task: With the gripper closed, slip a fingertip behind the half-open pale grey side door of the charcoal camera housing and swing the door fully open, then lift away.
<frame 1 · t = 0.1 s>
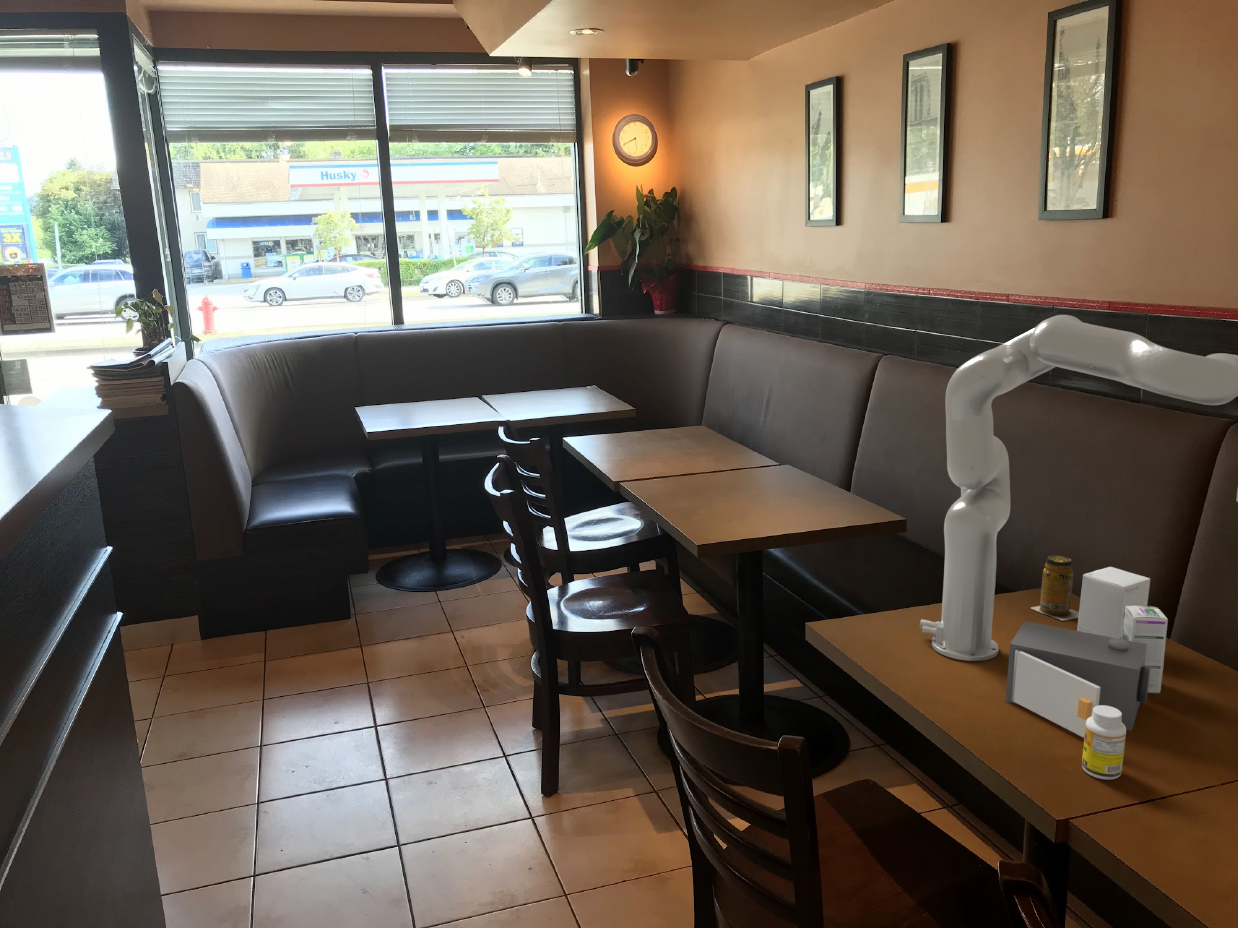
supplement bottle: (1100, 772, 149), on the table
syrup box: (1138, 686, 177), on the table
camera housing: (1072, 701, 171), on the table
condiment: (1057, 613, 212), on the table
side door: (1051, 694, 163), point 6 cm above the table, hinge at 30.0°
supplement box: (1108, 647, 194), on the table
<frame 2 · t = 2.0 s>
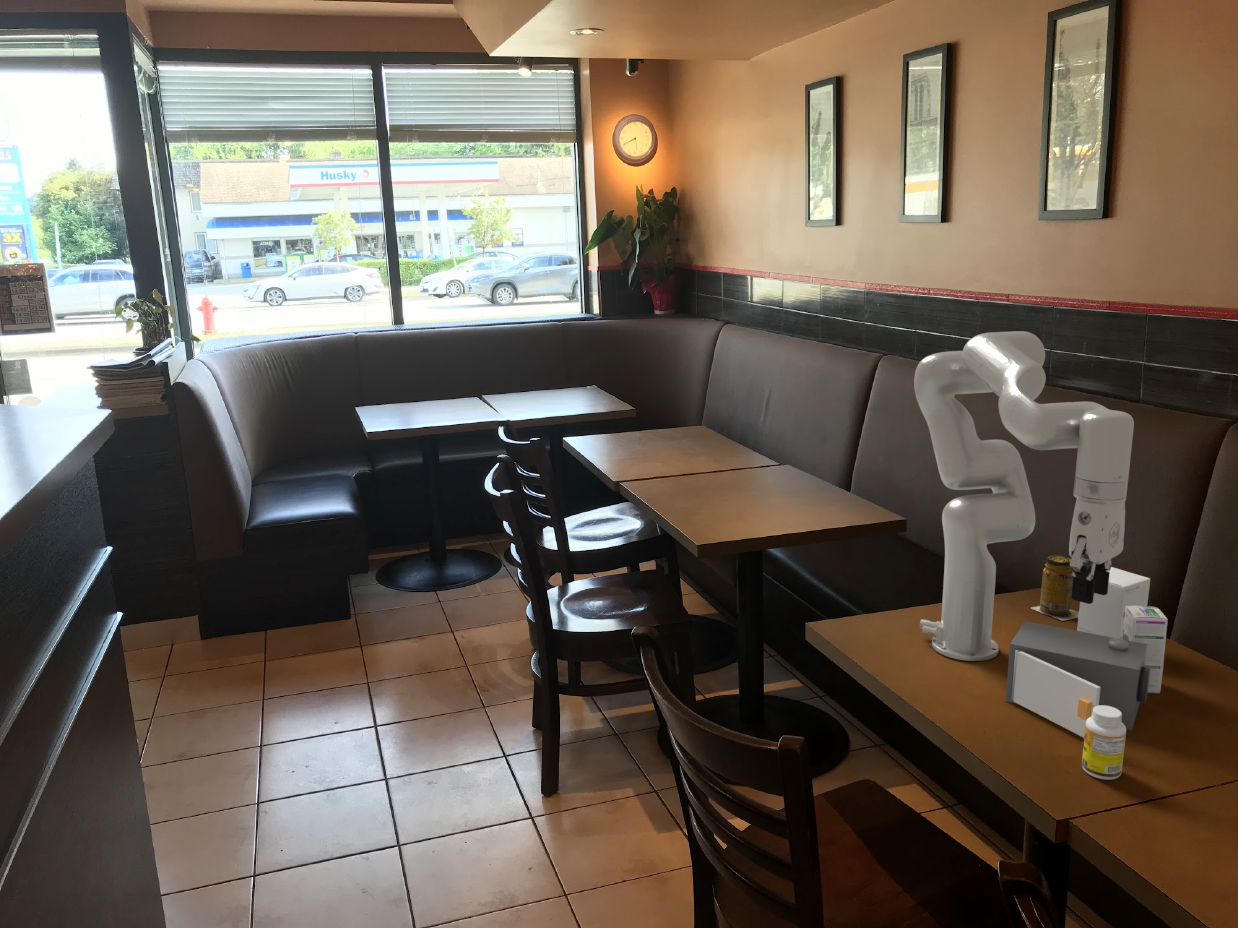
hand: (1089, 596, 157), 23 cm above the table, tool pointing down, fingers open, 4 cm apart
nothing on the table moved.
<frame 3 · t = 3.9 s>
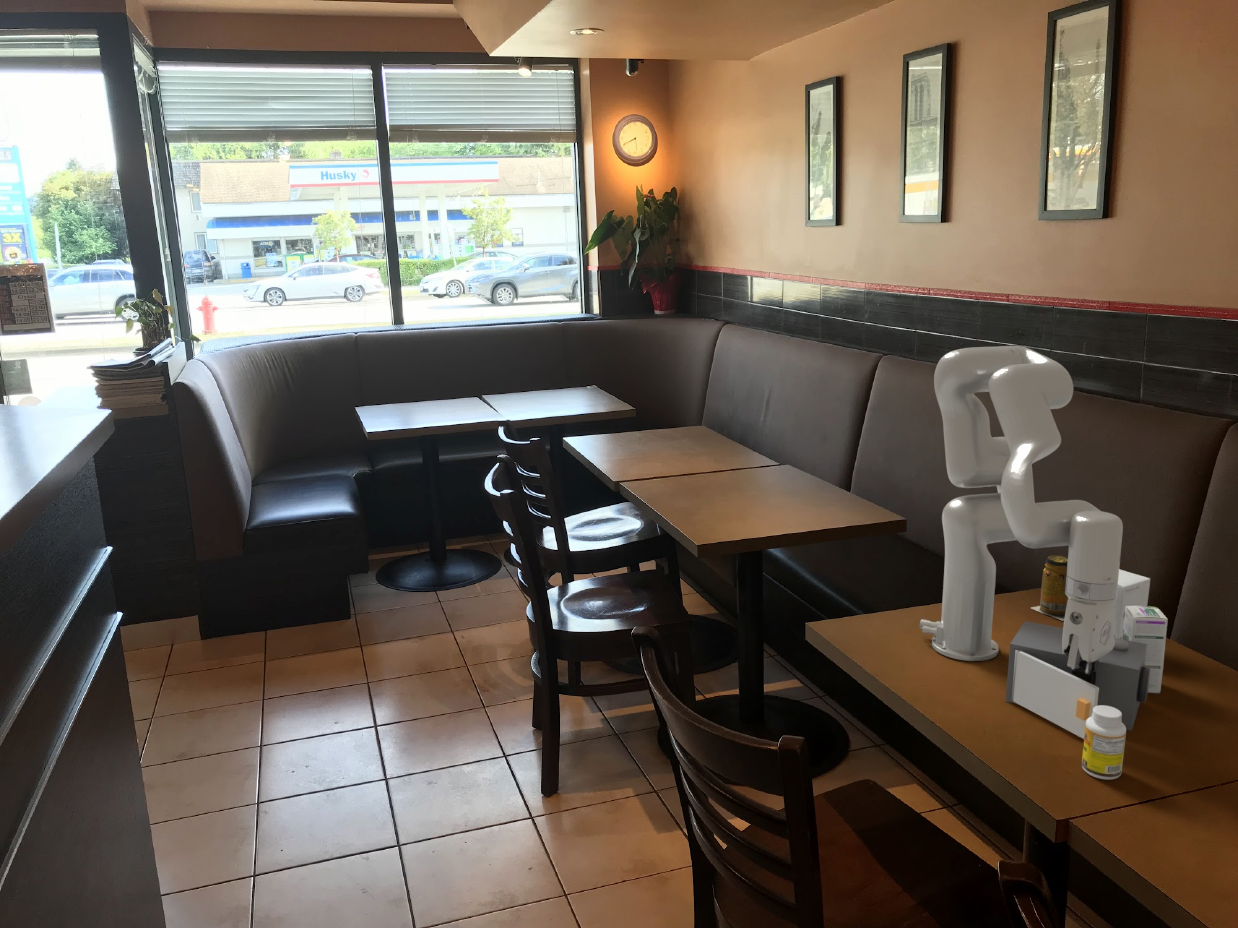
hand: (1082, 692, 161), 7 cm above the table, tool pointing down, fingers closed
side door: (1050, 694, 162), point 6 cm above the table, hinge at 31.3°, touching gripper
everything else where it was.
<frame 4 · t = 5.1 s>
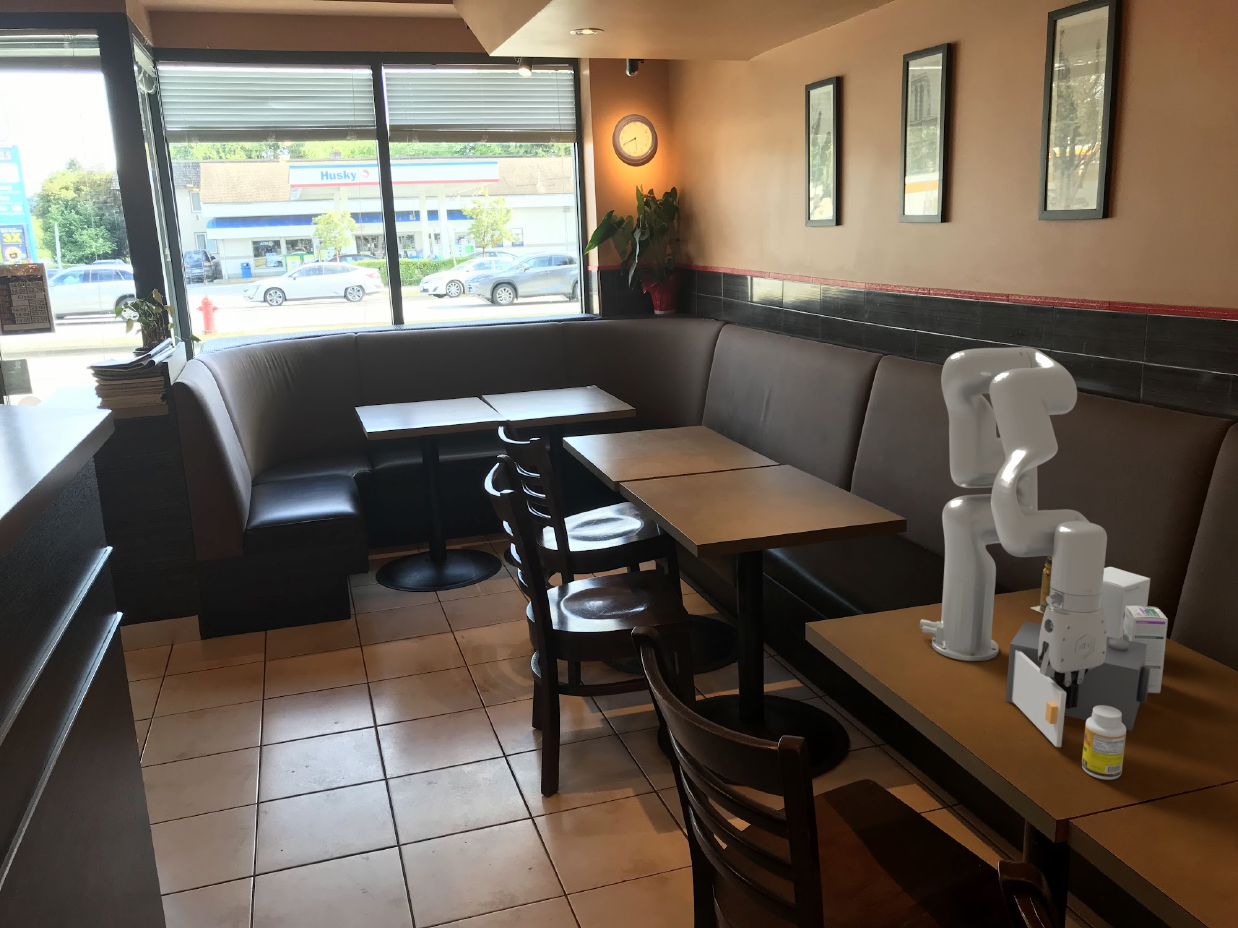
hand: (1065, 704, 159), 5 cm above the table, tool pointing down, fingers closed
side door: (1034, 696, 162), point 6 cm above the table, hinge at 53.5°, touching gripper
everything else where it was.
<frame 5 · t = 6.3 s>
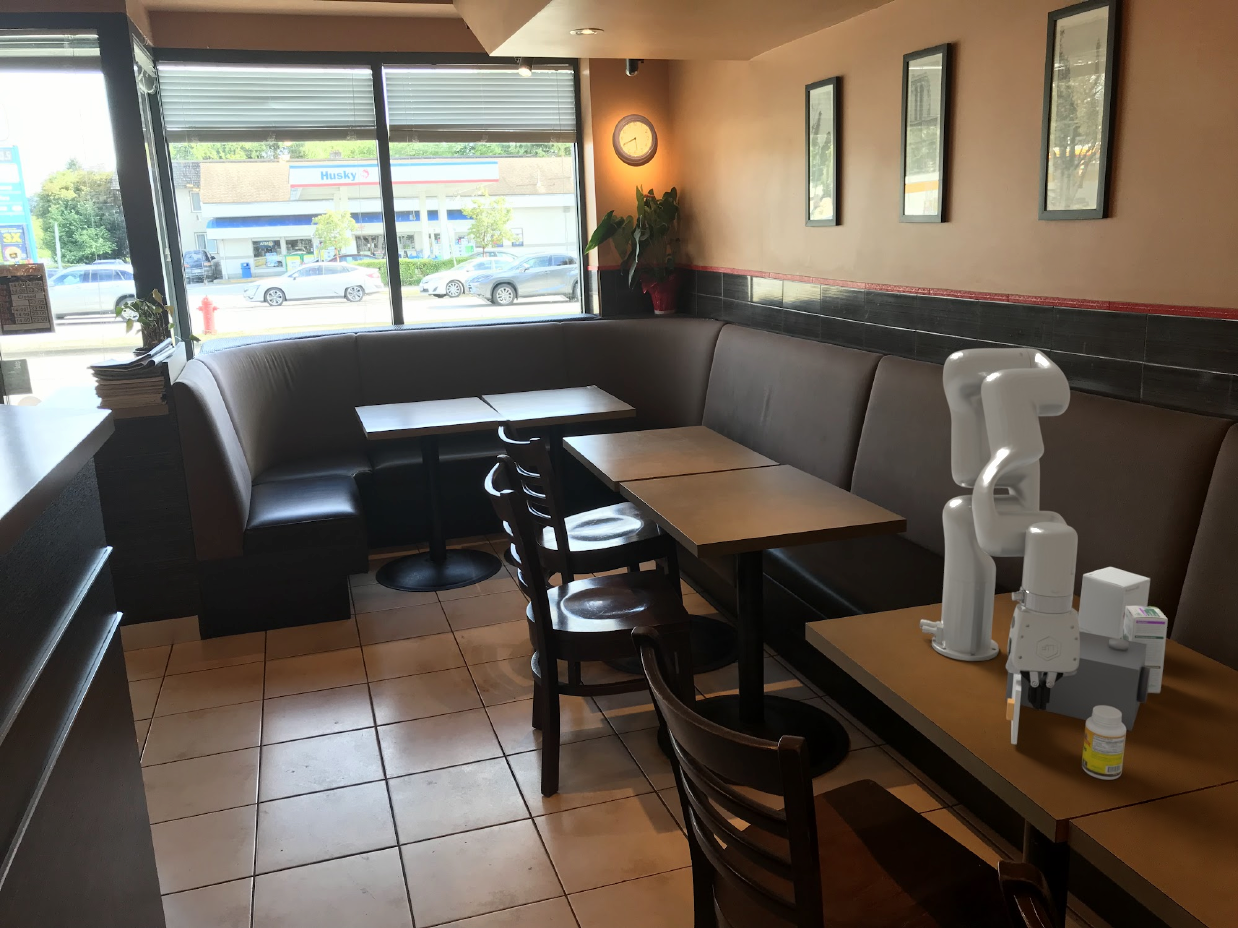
hand: (1037, 706, 158), 6 cm above the table, tool pointing down, fingers closed
side door: (1013, 694, 163), point 5 cm above the table, hinge at 78.1°, touching gripper
everything else where it was.
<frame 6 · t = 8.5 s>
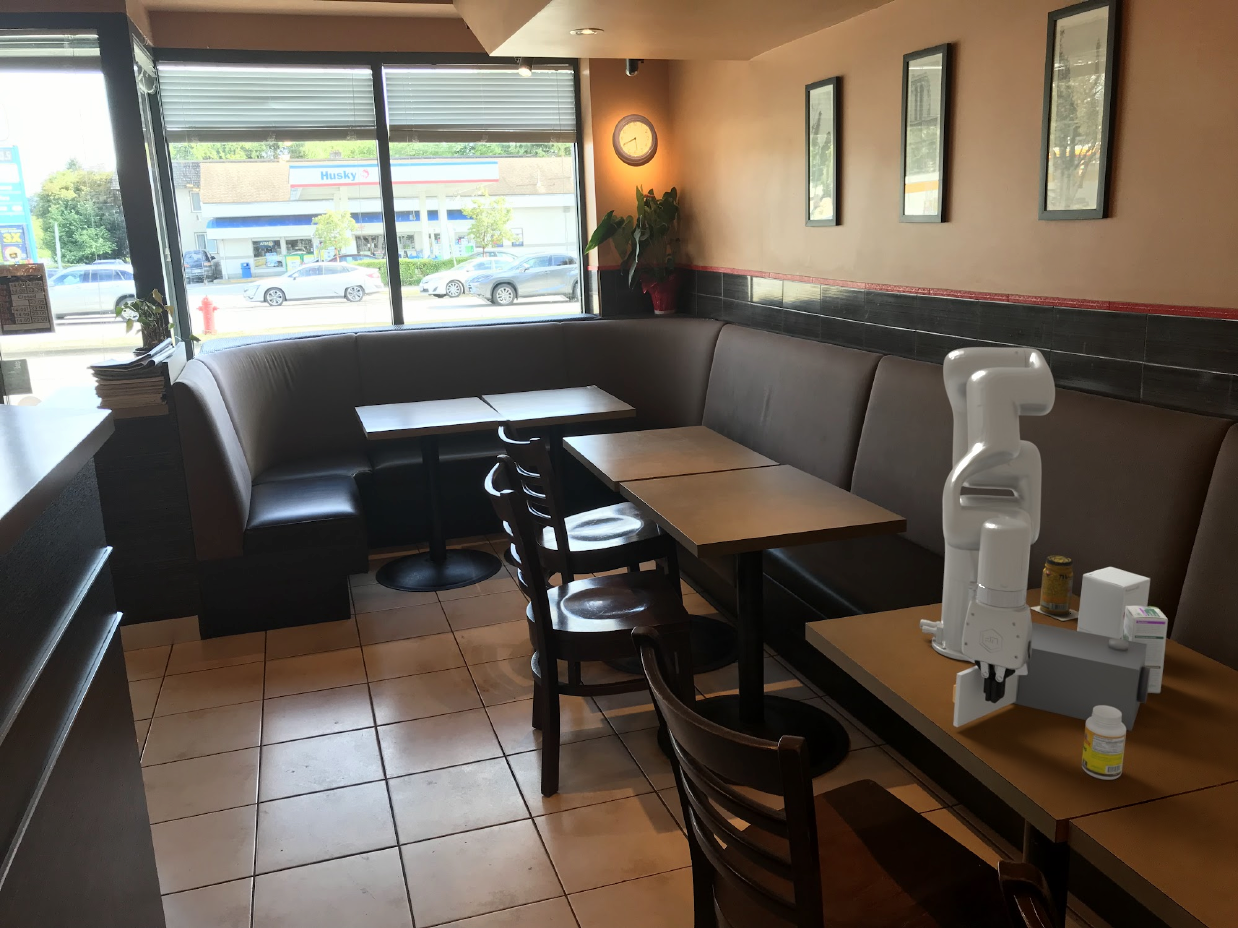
hand: (993, 699, 161), 6 cm above the table, tool pointing down, fingers closed
side door: (985, 686, 166), point 6 cm above the table, hinge at 112.8°, touching gripper
everything else where it was.
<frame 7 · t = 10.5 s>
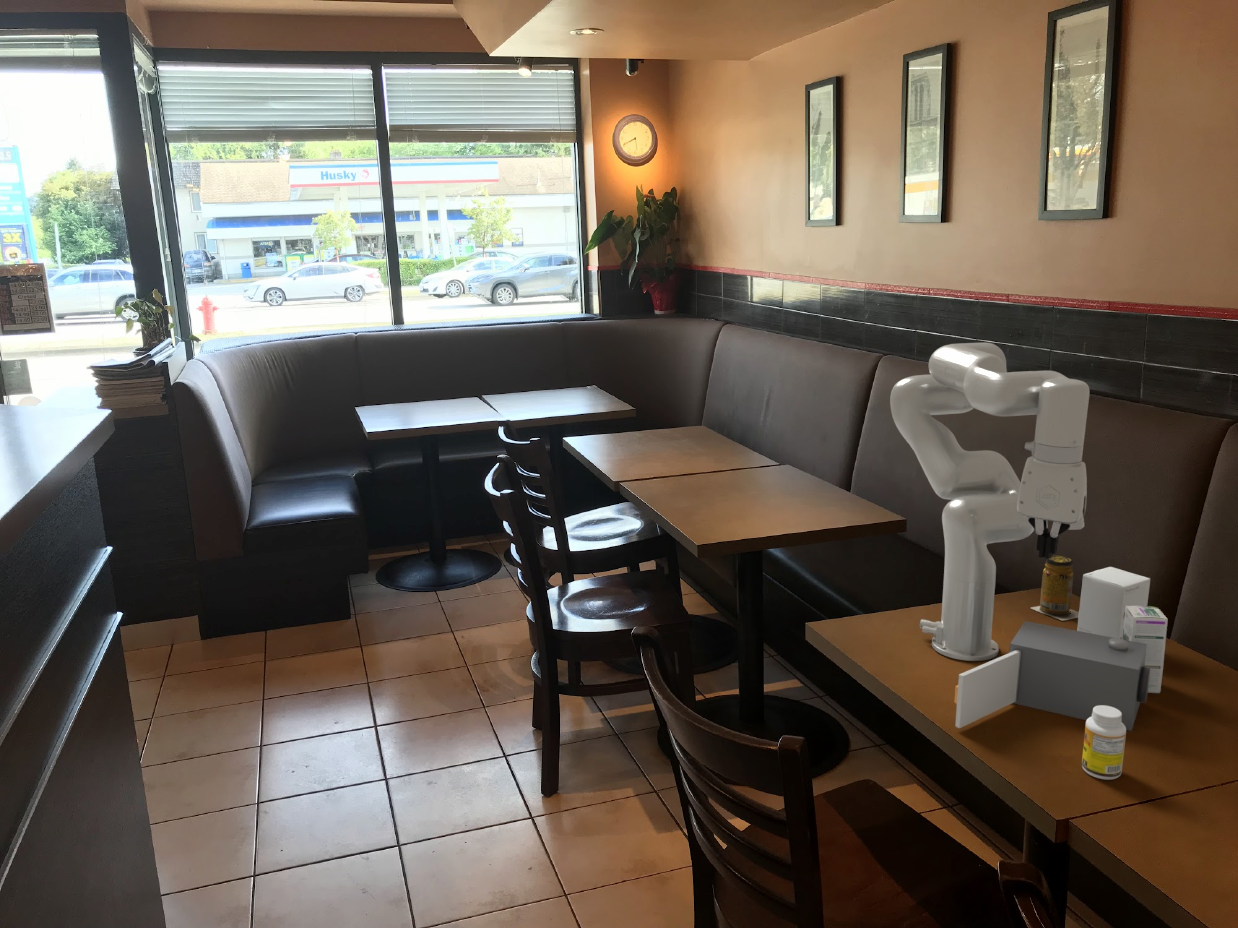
hand: (1046, 555, 167), 27 cm above the table, tool pointing down, fingers closed
side door: (986, 686, 166), point 6 cm above the table, hinge at 111.3°
everything else where it was.
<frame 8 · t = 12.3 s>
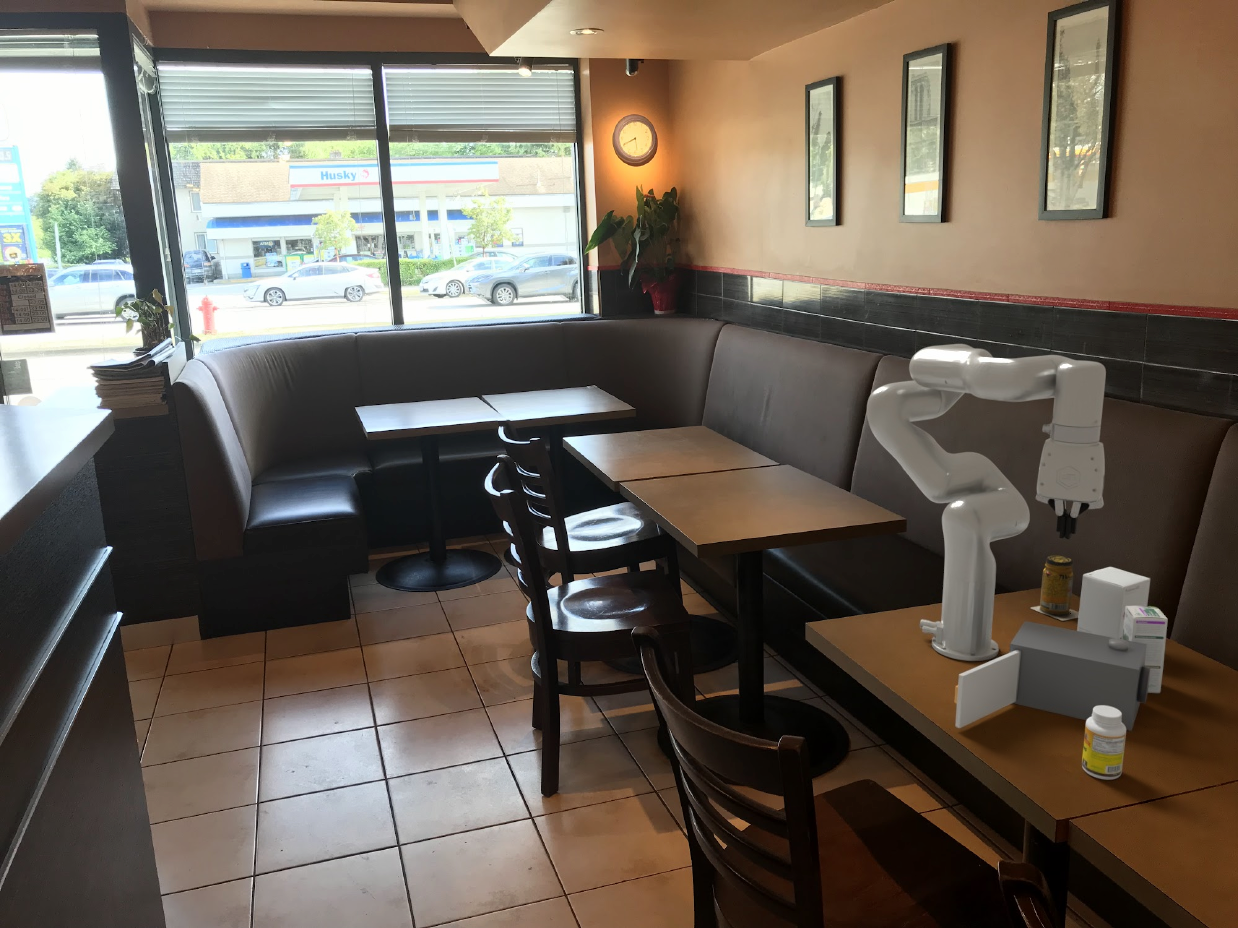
hand: (1065, 536, 169), 29 cm above the table, tool pointing down, fingers closed
nothing on the table moved.
at the end: side door at +111° (first picture: +30°) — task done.
